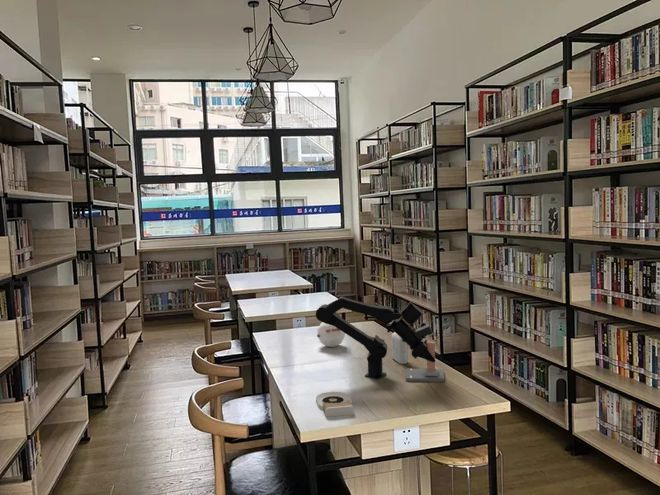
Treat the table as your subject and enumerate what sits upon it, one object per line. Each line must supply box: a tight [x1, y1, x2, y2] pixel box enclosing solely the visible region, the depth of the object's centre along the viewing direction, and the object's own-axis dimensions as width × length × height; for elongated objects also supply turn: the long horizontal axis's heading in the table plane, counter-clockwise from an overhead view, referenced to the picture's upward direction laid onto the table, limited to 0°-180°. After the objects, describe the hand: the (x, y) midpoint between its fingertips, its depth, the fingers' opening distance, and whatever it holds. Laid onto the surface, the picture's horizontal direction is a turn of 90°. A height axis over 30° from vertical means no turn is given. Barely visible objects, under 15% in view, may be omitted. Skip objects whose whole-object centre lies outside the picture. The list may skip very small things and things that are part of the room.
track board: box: [405, 368, 445, 383], centre depth 208 cm, size 14×12×1 cm
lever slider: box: [423, 341, 439, 376], centre depth 207 cm, size 5×7×12 cm
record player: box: [315, 391, 355, 418], centre depth 182 cm, size 12×3×20 cm
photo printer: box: [390, 331, 409, 365], centre depth 230 cm, size 10×4×12 cm, turn 17°
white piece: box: [316, 322, 346, 348], centre depth 259 cm, size 14×25×14 cm, turn 14°
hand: (434, 360), depth 207 cm, fingers closed on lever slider, 3 cm apart
